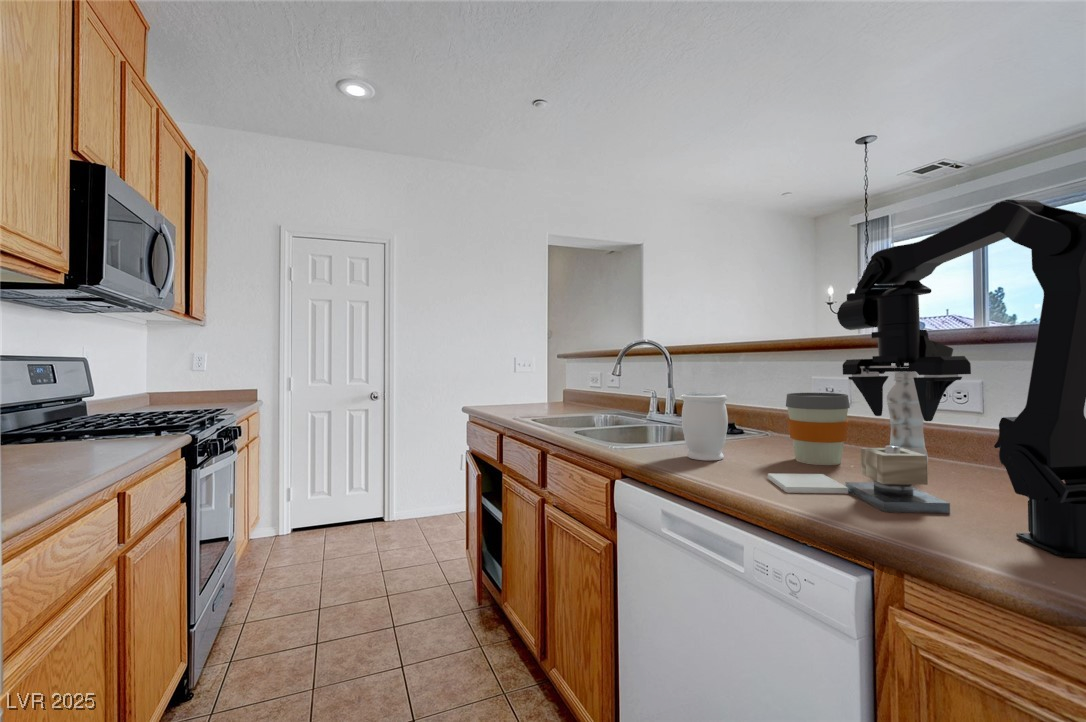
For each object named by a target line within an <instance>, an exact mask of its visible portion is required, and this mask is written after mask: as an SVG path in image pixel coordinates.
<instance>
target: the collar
mask: <svg viewBox="0 0 1086 722" xmlns="http://www.w3.org/2000/svg"><path fill="white" fill-rule="evenodd" d="M927 455H928V454H927ZM927 455H923V454H920V453H917V452H914V451H910V450H907V449H904V448H900V454H887V453H885V447H861V448H860V460H861V461H860V467H861V468H860V469H861V475H862V476H864V477H866V478H868V479H871V480H873V481H874V480H875V481H877V482H879V483H881V484H911V485H913V486H914V485H921V486H923V485H925V486H926V485H927V486H928V483H929V482H928V481H929V480H928V463H927Z"/></svg>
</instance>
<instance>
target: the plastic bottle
mask: <svg viewBox="0 0 1086 722" xmlns="http://www.w3.org/2000/svg"><path fill="white" fill-rule="evenodd" d="M915 377H918V373H917V372H894V378H893V381H895V383H894V384H893V386H892V387H891V388H890V389H889V390H888V392H887V394H886V402H887V408H888V409H887V410H888V415H889V423H890V438H889V445H888V446H898V447H900V448H904V449H907V450H910V451H914V452H917V453H920V454H923V455H927V464H928V463H929V457H928V451H927V448H926V442H925V435H924V419H923V416H922V413H921V409H920V405H919V400H918V396H917V391H916V387H915V383H914V378H915Z"/></svg>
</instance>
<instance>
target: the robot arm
mask: <svg viewBox="0 0 1086 722" xmlns="http://www.w3.org/2000/svg"><path fill="white" fill-rule="evenodd" d="M1005 239H1009V240H1010V241H1012V242H1013V243H1015V244H1018V245H1020V246H1022V247H1024V248H1027V249H1030V252H1031V270H1032V272H1033V274H1034V276H1035V277H1036V279H1037V282H1038V283H1039V286H1040V287H1041V289H1042V291H1043V292H1042V293H1043V299H1042V304H1041V312H1040V317H1039V324H1038V328H1037V336H1036V342H1035V348H1034V353H1033V354H1034V355H1033V358H1032V359H1033V361H1032V365H1031V372H1030V378H1029V385H1028V391H1027V398H1026V403H1025V407H1024V408H1023V409H1022V410H1021V412H1020V413H1019V414H1018V415H1017V416H1006V417H1001V418H1000V421H999V422H998V423H999V424H998V438H997V441H996V442H995V444H994V446H993V447H994V448H995V449H999V450H998V458H999V459H998V460H999V462H1000V464H1001V465H1002V466H1004V468H1005V470H1006V473H1007V475H1008V478H1009V479H1010V482H1011V483H1010V484H1011V485H1012V488H1013V491H1014V493H1015V494H1017V495H1020V496H1024V497H1027V498H1028V501H1027V522H1028V523H1027V524H1028V530H1027V531H1028V532H1026V533H1025V532H1016V534H1015V535H1016V538H1018V539H1020V540H1022V541H1025V542H1026V543H1029V544H1032V545H1034V546H1036V547H1038V548H1040V549H1042V550H1044V551H1048V552H1050V553H1052V554H1054V555H1056V556H1059V557H1064V558H1065V557H1066V558H1086V415H1085V407H1086V405H1085V404H1086V214H1085V213H1082V212H1078V211H1073V210H1068V209H1064V208H1059V207H1055V206H1051V205H1048V204H1045V203H1042V202H1041V201H1039V200H1034V199H1031V200H1029V199H1004V200H1001V201H999V202H996V203H995V204H993V205H991V206H990V208H988V209H986V210H984V211H982V212H980V213H977V214H975V215H973V216H971V217H969V218H967V219H964V220H963V221H960V222H958V223H956V224H954V225H952V226H949V227H948V228H945V229H943V230H941V231H938V232H937V233H934V234H932V235H930V236H928V237H926V238H924V239H922V240H919V241H916V242H912V243H906V244H901V245H896V246H895V245H894V246H891V247H887V248H883V249H880V250H877V251H875V253H873V254H872V256H870V260H869V262H868V263H867V265H866V268H865V269H864V271H863V274H862V276H861V278H860V280H859V281H858V283H857V284H856V285H857V286H856V288H855V290H854V292H850V293H847V294H846V300H845V301H843V302H842V303H841V304H840V306H839V308H838V311H837V313H836V314H837V315H836V316H837V321H838V322H839V325H840V326H841V327H843V328H844V329H845V330H849V331H854V330H863V329H872V328H877V331H873V332H871V339H877V350H878V355H873V356H872V358H861V359H860V358H859V359H858V358H857V359H854V358H853V359H846V360H845V361H844V362H843V364H842V375H843V376H844V375H849V376H848V377H847V378H848V380H850V381H852V382H853V384H854V385H855V386H856V388H857V389H858V390H859V392H860V394H861V395H862V397H863V398H864V400H865V402H866V403H867V405H868V406H869V408H870V409H871V412H872V414H873V415H874V416H875V417H881V416H883V415H882V414H883V405H884V403H883V402H884V400H883V399H884V384H885V382H886V381H887V380H888V379H889V375H885V373H892V372H894V373H895V372H917V375H919V376H917V377H915V378H914V383H915V387H916V391H917V396H918V400H919V405H920V409H921V413H922V416H923V419H924V420H923V422H932V421H933V420H934V417H935V414H936V412H937V410H938V407H939V405H940V402H941V400H942V399H943V398H942V397H943V396H944V394H945V392H946V390H947V389H948V387H950V386H951V385H952V384H954V382H956V381H961V380H962V379H963V376H960V375H972V368H971V367H972V366H971V362H970V360H968V358H967V357H966V356H965V355H953V353H954V348H953V347H950V346H948V345H945V344H943V343H941V342H938V341H934V340H931V339H930V338H929V332H928V331H927V329H921V325H920V319H921V317H920V301H919V300H920V297H919V296H922V295H927V294H931V293H932V288H929V287H928V286H926V285H924V284H923V283H922V282H921V281H922V280H923V279H926V278H927V277H928V276H930V275H932V274H933V273H934V271H935V270H936V268H938V267H939V266H941V265H943V264H944V263H947V262H950V261H952V260H955V259H957V258H959V257H962V256H964V255H966V254H970V253H973V252H975V251H978V250H980V249H982V248H985V247H987V246H990V245H993V244H995V243H997V242H1000V241H1003V240H1005ZM892 364H894V365H892ZM905 364H906V365H905ZM907 364H908V365H907ZM880 374H881V375H880ZM883 374H884V375H883ZM920 376H921V377H920Z"/></svg>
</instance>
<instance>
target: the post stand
mask: <svg viewBox="0 0 1086 722" xmlns="http://www.w3.org/2000/svg"><path fill="white" fill-rule="evenodd" d="M884 448H885V453H887V454H900V447H898V446H889V445H884ZM845 486H846V487H848V494H851V495H853V496H855V497H857V498H859V499H860V500H862V501H864V502H866V503H867V504H869V505H871V506H873V507H875V508H876V509H878V510H880V511H881V512H883V513H917V514H918V513H922V514H926V513H927V514H930V513H931V514H951V502H949V501H945V500H943V499H941V498H939V497H937V496H934V495H932V494H929V493H927V492H924V491H922V490H921V489H917V488H915V487H914V485H911V484H881V483H879V482H877V481H875V480H873V482H872V481H866V482H865V481H845Z"/></svg>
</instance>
